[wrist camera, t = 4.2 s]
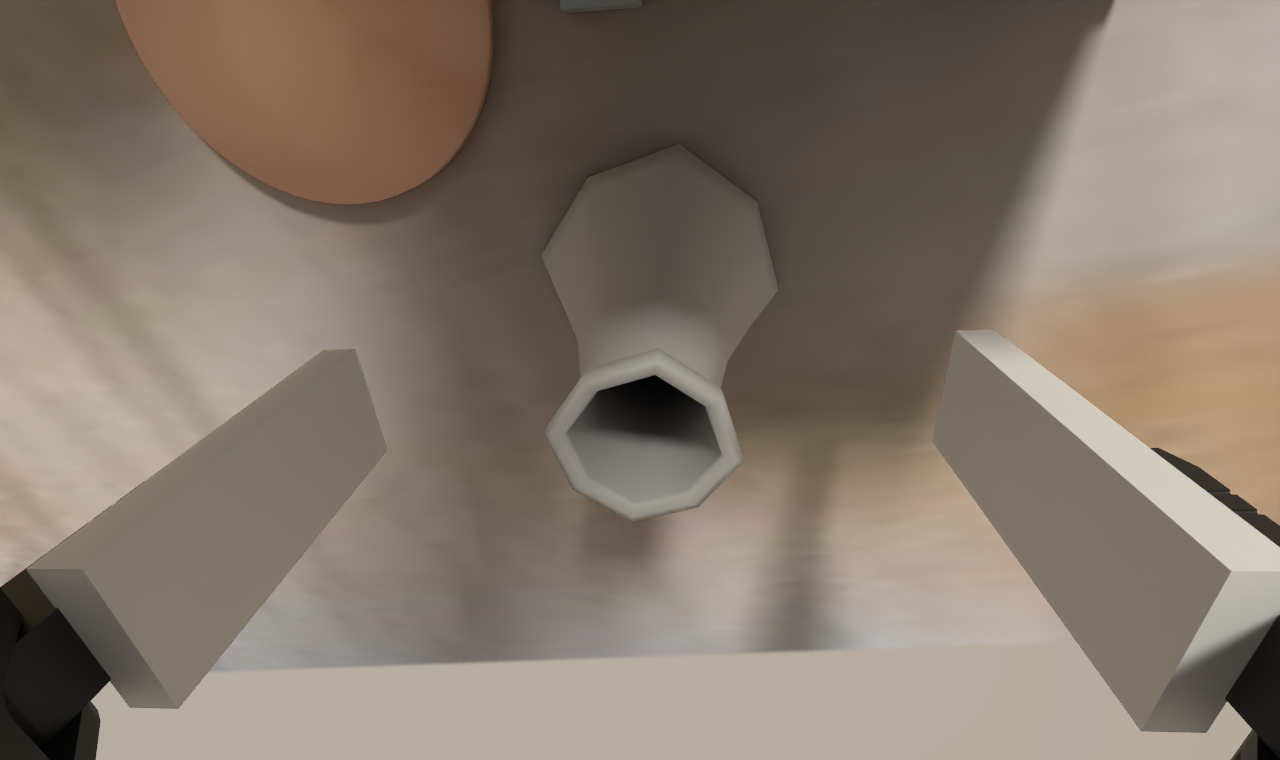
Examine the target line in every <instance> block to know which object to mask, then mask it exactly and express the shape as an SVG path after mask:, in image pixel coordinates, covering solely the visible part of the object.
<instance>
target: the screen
mask: <svg viewBox="0 0 1280 760" xmlns="http://www.w3.org/2000/svg"><path fill="white" fill-rule="evenodd" d="M559 1H560V9H561V10H563V11H564V12H566V13H576V12H588V11H601V10H613V9H626V8H639V7H642V0H559Z"/></svg>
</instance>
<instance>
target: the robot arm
mask: <svg viewBox="0 0 1280 760" xmlns="http://www.w3.org/2000/svg"><path fill="white" fill-rule="evenodd" d="M932 442H933V443H934V444H935V446H936V447H937V449H938V450H939V451H940V453H941V454H942V455H943V457H944V458H945V460H946V461H947V462H948V464H949V465H950V467H951V468H952V469H953V471H954V472H955V474H956V475H957V476H958V478H959V479H960V480H961V482H962V483H963V485H964V486H965V487H966V489H967V490H968V492H969V493H970V494H971V496H972V497H973V499H974V500H975V501H976V503H977V504H978V505H979V507H980V508H981V510H982V511H983V512H984V514H985V515H986V517H987V518H988V519H989V521H990V522H991V523H992V525H993V526H994V528H995V529H996V530H997V532H998V533H999V535H1000V536H1001V537H1002V539H1003V540H1004V542H1005V543H1006V544H1007V546H1008V547H1009V548H1010V550H1011V551H1012V553H1013V554H1014V555H1015V557H1016V558H1017V560H1018V561H1019V562H1020V564H1021V565H1022V567H1023V568H1024V569H1025V571H1026V572H1027V573H1028V575H1029V576H1030V578H1031V579H1032V580H1033V582H1034V583H1035V585H1036V586H1037V587H1038V589H1039V590H1040V592H1041V593H1042V594H1043V596H1044V597H1045V598H1046V600H1047V601H1048V603H1049V604H1050V605H1051V607H1052V608H1053V610H1054V611H1055V612H1056V614H1057V615H1058V617H1059V618H1060V619H1061V621H1062V622H1063V623H1064V625H1065V626H1066V628H1067V629H1068V630H1069V632H1070V633H1071V635H1072V636H1073V637H1074V639H1075V640H1076V641H1077V643H1078V644H1079V645H1080V647H1081V648H1082V650H1083V651H1084V653H1085V654H1086V655H1087V657H1088V658H1089V660H1090V661H1091V662H1092V664H1093V665H1094V666H1095V668H1096V669H1097V670H1098V672H1099V673H1100V675H1101V676H1102V678H1103V679H1104V680H1105V682H1106V683H1107V684H1108V686H1109V687H1110V689H1111V690H1112V691H1113V693H1114V694H1115V696H1116V697H1117V698H1118V700H1119V701H1120V703H1121V704H1122V705H1123V707H1124V708H1125V709H1126V711H1127V712H1128V714H1129V715H1130V716H1131V718H1132V719H1133V721H1134V722H1135V723H1136V725H1137V726H1138V728H1139V729H1140V730H1141V731H1153V732H1196V733H1197V732H1198V733H1206V732H1207V731H1208V729H1209V728H1210V726H1211V725H1212V723H1213V722H1214V720H1215V718H1216V717H1217V716H1218V714H1219V712H1220V711H1221V709H1222V708H1223V706H1224V705H1225V703H1226V702H1227V701H1228V702H1229V703H1230V705H1231V706H1232V707H1233V708H1234V709H1235V710H1236V711H1237V712H1238V713H1239V714H1240V715H1241V717H1242V718H1243V719H1244V720H1245V721H1246V722H1247V724H1248V725H1250V727H1251V728H1252V731H1251V732H1250V734H1249V735H1248V736H1247V738H1246V739H1245V741H1244V742H1243V743H1242V745H1241V746H1240V748H1239V749H1238V750H1237V752H1236V753H1235V755H1234V756H1233V758H1232V759H1231V760H1280V526H1279V525H1278V524H1276V523H1275V522H1274V521H1272V520H1271V519H1269V518H1268V517H1267V516H1265V515H1258V514H1257V509H1256V508H1254V507H1253V506H1252V505H1250V504H1249V503H1247V502H1246V501H1245V500H1243V499H1242V498H1241V497H1239V496H1238V495H1231V494H1230V490H1229V489H1228V488H1227V487H1225V486H1224V485H1223V484H1221V483H1220V482H1218V481H1217V480H1216V479H1214V478H1213V477H1212V476H1210V475H1209V474H1207V473H1206V472H1205V471H1203V470H1202V469H1201V468H1199V467H1197V466H1195V465H1193V464H1191V463H1189V462H1187V461H1185V460H1183V459H1180V458H1178V457H1176V456H1174V455H1172V454H1170V453H1168V452H1166V451H1164V450H1161V449H1159V448H1149V447H1148V446H1146V445H1145V444H1144V443H1142V442H1141V441H1140V440H1138V439H1137V438H1136V437H1134V436H1133V435H1132V434H1131V433H1129V432H1128V431H1127V430H1125V429H1124V428H1123V427H1121V426H1120V425H1119V424H1117V423H1116V422H1115V421H1113V420H1112V419H1111V418H1110V417H1108V416H1107V415H1106V414H1104V413H1103V412H1102V411H1100V410H1099V409H1098V408H1096V407H1095V406H1094V405H1092V404H1091V403H1090V402H1089V401H1087V400H1086V399H1085V398H1083V397H1082V396H1081V395H1079V394H1078V393H1077V392H1075V391H1074V390H1073V389H1071V388H1070V387H1069V386H1068V385H1066V384H1065V383H1064V382H1062V381H1061V380H1060V379H1058V378H1057V377H1056V376H1054V375H1053V374H1052V373H1050V372H1049V371H1048V370H1047V369H1045V368H1044V367H1043V366H1041V365H1040V364H1039V363H1037V362H1036V361H1035V360H1033V359H1032V358H1031V357H1029V356H1028V355H1027V354H1026V353H1024V352H1023V351H1022V350H1020V349H1019V348H1018V347H1016V346H1015V345H1014V344H1012V343H1011V342H1010V341H1008V340H1007V339H1006V338H1005V337H1003V336H1002V335H1001V334H999V333H998V332H997V331H995V330H994V329H990V330H958V331H955V335H954V340H953V345H952V350H951V355H950V359H949V364H948V369H947V374H946V378H945V383H944V388H943V393H942V398H941V402H940V407H939V412H938V417H937V422H936V426H935V431H934V436H933V441H932ZM386 451H387V448H386V445H385V442H384V439H383V436H382V432H381V429H380V426H379V423H378V420H377V417H376V413H375V410H374V407H373V404H372V401H371V398H370V394H369V391H368V388H367V385H366V382H365V379H364V375H363V372H362V369H361V366H360V363H359V360H358V356H357V353H356V350H355V349H352V350H323V351H322V352H320V353H319V354H318V355H316V356H315V357H314V358H312V359H311V360H310V361H308V362H307V363H305V364H304V365H303V366H301V367H300V368H299V369H297V370H296V371H295V372H293V373H292V374H291V375H289V376H288V377H286V378H285V379H284V380H282V381H281V382H280V383H278V384H277V385H276V386H274V387H273V388H271V389H270V390H269V391H267V392H266V393H265V394H263V395H262V396H261V397H259V398H258V399H257V400H255V401H254V402H252V403H251V404H250V405H248V406H247V407H246V408H244V409H243V410H242V411H240V412H239V413H237V414H236V415H235V416H233V417H232V418H231V419H229V420H228V421H227V422H225V423H224V424H223V425H221V426H220V427H218V428H217V429H216V430H214V431H213V432H212V433H210V434H209V435H208V436H206V437H205V438H203V439H202V440H201V441H199V442H198V443H197V444H195V445H194V446H193V447H191V448H190V449H188V450H187V451H186V452H184V453H183V454H182V455H180V456H179V457H178V458H176V459H175V460H174V461H172V462H171V463H169V464H168V465H167V466H165V467H164V468H163V469H161V470H160V471H159V472H157V473H156V474H154V475H153V476H152V477H150V478H149V479H148V480H146V481H144V482H143V483H142V484H140V485H139V486H138V487H136V488H135V489H133V490H132V491H131V492H129V493H128V494H127V495H125V496H124V497H123V498H121V499H120V500H118V501H117V502H116V503H115V504H114V505H112V506H110V507H109V508H108V509H106V510H105V511H103V512H102V513H101V514H99V515H98V516H97V517H95V518H94V519H93V520H92V521H91V522H89V523H87V524H86V525H84V526H83V527H82V528H80V529H79V530H78V531H76V532H75V533H74V534H72V535H71V536H69V537H68V538H67V539H65V540H64V541H63V542H61V543H60V544H59V545H57V546H56V547H54V548H53V549H52V550H50V551H49V552H48V553H46V554H45V555H44V556H42V557H41V558H39V559H38V560H37V561H35V562H34V563H33V564H31V565H30V566H29V567H27V568H26V569H25V570H23V571H22V572H20V573H19V574H18V575H16V576H15V577H14V578H12V579H11V580H10V581H8V582H7V583H5V584H4V585H3V586H1V587H0V760H95V759H96V751H97V744H98V735H99V728H100V718H99V713H98V710H97V709H96V707H95V706H94V705H93V704H92V702H91V700H92V698H94V697H95V696H96V694H97V693H98V692H99V691H100V690H101V689H102V688H103V687H104V686H105V685H106V684H107V683H108V682H109V681H110V682H111V683H112V684H113V686H114V687H115V688H116V690H117V691H118V692H119V694H120V695H121V696H122V698H123V699H124V700H125V702H126V703H127V704H128V706H129V707H131V708H173V709H178V708H179V707H180V706H181V705H182V704H183V702H184V701H185V700H186V699H187V697H188V696H189V695H190V693H191V692H192V691H193V690H194V689H195V687H196V686H197V685H198V684H199V682H200V681H201V680H202V679H203V677H204V676H205V675H206V674H207V673H208V671H209V670H210V669H211V668H212V666H213V665H214V664H215V663H216V661H217V660H218V659H219V658H220V656H221V655H222V654H223V653H224V652H225V650H226V649H227V648H228V647H229V645H230V644H231V643H232V642H233V640H234V639H235V638H236V637H237V635H238V634H239V633H240V632H241V630H242V629H243V628H244V627H245V626H246V624H247V623H248V622H249V621H250V619H251V618H252V617H253V616H254V614H255V613H256V612H257V611H258V609H259V608H260V607H261V606H262V604H263V603H264V602H265V601H266V600H267V598H268V597H269V596H270V595H271V593H272V592H273V591H274V590H275V588H276V587H277V586H278V585H279V583H280V582H281V581H282V580H283V578H284V577H285V576H286V575H287V573H288V572H289V571H290V570H291V569H292V567H293V566H294V565H295V564H296V562H297V561H298V560H299V559H300V557H301V556H302V555H303V554H304V552H305V551H306V550H307V549H308V547H309V546H310V545H311V544H312V543H313V541H314V540H315V539H316V538H317V536H318V535H319V534H320V533H321V531H322V530H323V529H324V528H325V526H326V525H327V524H328V523H329V521H330V520H331V519H332V518H333V517H334V515H335V514H336V513H337V512H338V510H339V509H340V508H341V507H342V505H343V504H344V503H345V502H346V500H347V499H348V498H349V497H350V495H351V494H352V493H353V492H354V491H355V489H356V488H357V487H358V486H359V484H360V483H361V482H362V481H363V479H364V478H365V477H366V476H367V474H368V473H369V472H370V471H371V469H372V468H373V467H374V466H375V465H376V463H377V462H378V461H379V460H380V458H381V457H382V456H383V455H384V453H385V452H386Z"/></svg>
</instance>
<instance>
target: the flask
mask: <svg viewBox="0 0 1280 760" xmlns="http://www.w3.org/2000/svg"><path fill="white" fill-rule="evenodd" d="M541 256H542V259H543V261H544V263H545V266H546V268H547V271H548V273H549V275H550V277H551V280H552V282H553V284H554V287H555V289H556V291H557V294H558V296H559V298H560V301H561V303H562V305H563V308H564V310H565V312H566V314H567V317H568V319H569V321H570V324H571V326H572V328H573V331H574V333H575V335H576V338H577V340H578V352H579V370H580V380H579V381H578V382H577V384H576V385H575V387H574V388H573V389H572V391H571V392H570V394H569V395H568V396H567V398H566V399H565V401H564V402H563V403H562V405H561V406H560V408H559V409H558V410H557V412H556V413H555V415H554V416H553V417H552V419H551V420H550V422H549V423H548V424H547V426H546V430H545V435H546V437H547V439H548V441H549V443H550V445H551V447H552V449H553V451H554V453H555V455H556V457H557V459H558V461H559V463H560V465H561V467H562V469H563V471H564V473H565V475H566V477H567V479H568V481H569V483H570V485H571V487H572V489H573V490H575V491H576V492H578V493H580V494H582V495H584V496H585V497H587V498H589V499H591V500H593V501H595V502H596V503H598V504H600V505H602V506H604V507H605V508H607V509H609V510H611V511H613V512H615V513H616V514H618V515H620V516H622V517H624V518H625V519H627V520H629V521H631V522H634V521H639V520H643V519H648V518H652V517H657V516H661V515H665V514H670V513H674V512H679V511H683V510H688V509H692V508H696V507H699V506H700V505H701V504H702V503H703V502H704V501H705V500H706V498H707V497H708V496H709V495H710V494H711V493H712V492H713V491H714V490H715V489H716V488H717V487H718V486H719V485H720V484H721V483H722V482H723V481H724V480H725V479H726V478H727V477H728V476H729V475H730V474H731V473H732V472H733V471H734V470H735V469H736V467H737V466H738V465H739V464H740V463H741V462H742V461H743V456H742V451H741V448H740V444H739V441H738V438H737V435H736V432H735V429H734V426H733V423H732V419H731V416H730V413H729V410H728V407H727V404H726V401H725V398H724V394H723V392H722V390H721V386H722V382H723V378H724V374H725V370H726V366H727V362H728V360H729V358H730V357H731V355H732V354H733V352H734V351H735V349H736V348H737V346H738V345H739V343H740V342H741V340H742V339H743V337H744V336H745V334H746V333H747V331H748V330H749V328H750V327H751V325H752V324H753V322H754V321H755V320H756V318H757V317H758V316H759V315H760V313H761V312H762V311H763V310H764V308H765V307H766V306H767V305H768V303H769V302H770V301H771V300H772V298H773V297H774V296H775V294H776V293H777V291H778V290H779V288H778V284H777V280H776V276H775V272H774V268H773V263H772V259H771V255H770V251H769V247H768V243H767V239H766V235H765V231H764V227H763V223H762V219H761V215H760V211H759V207H758V202H757V201H755V200H754V199H753V198H751V197H750V196H749V195H747V194H746V193H745V192H743V191H742V190H741V189H739V188H738V187H737V186H735V185H734V184H733V183H731V182H730V181H729V180H727V179H726V178H725V177H723V176H722V175H721V174H719V173H718V172H717V171H715V170H714V169H713V168H711V167H710V166H709V165H707V164H706V163H705V162H703V161H702V160H700V159H699V158H698V157H696V156H695V155H694V154H692V153H691V152H690V151H688V150H687V149H686V148H684V147H683V146H682V145H680V144H677V145H675V146H672V147H669V148H666V149H664V150H661V151H658V152H655V153H653V154H650V155H647V156H645V157H642V158H639V159H636V160H634V161H631V162H628V163H625V164H623V165H620V166H617V167H614V168H612V169H609V170H606V171H604V172H601V173H598V174H595V175H593V176H590V177H587V179H586V181H585V182H584V184H583V186H582V187H581V189H580V191H579V192H578V194H577V196H576V197H575V199H574V201H573V202H572V204H571V206H570V207H569V209H568V211H567V213H566V214H565V216H564V218H563V219H562V221H561V223H560V224H559V226H558V228H557V229H556V231H555V233H554V234H553V236H552V238H551V239H550V241H549V243H548V244H547V246H546V248H545V249H544V251H543V253H542V254H541Z"/></svg>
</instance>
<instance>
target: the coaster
mask: <svg viewBox="0 0 1280 760" xmlns="http://www.w3.org/2000/svg"><path fill="white" fill-rule="evenodd" d="M115 2H116V5H117V7H118V10H119V13H120V16H121V18H122V21H123V24H124V26H125V28H126V30H127V32H128V35H129V37H130V39H131V41H132V43H133V45H134V47H135V49H136V52H137V53H138V55H139V57H140V58H141V60H142V62H143V64H144V65H145V67H146V69H147V70H148V72H149V74H150V76H151V77H152V79H153V80H154V82H155V83H156V84H157V86H158V87H159V89H160V90H161V92H162V93H163V94H164V96H165V97H166V99H167V100H168V101H169V103H170V104H171V105H172V106H173V107H174V109H175V110H176V111H177V112H178V113H179V115H180V116H181V117H182V118H183V119H184V120H185V122H186V123H187V124H188V125H189V126H190V127H191V128H192V129H193V130H194V131H195V132H196V133H197V134H198V135H199V136H200V137H201V138H202V139H203V140H204V141H205V142H206V143H207V144H209V145H210V146H211V147H212V148H213V149H215V150H216V151H217V152H218V153H219V154H221V155H222V156H223V157H224V158H226V159H227V160H228V161H230V162H231V163H233V164H234V165H235V166H237V167H238V168H240V169H241V170H243V171H244V172H246V173H247V174H249V175H251V176H253V177H254V178H256V179H258V180H260V181H262V182H264V183H265V184H267V185H269V186H271V187H274V188H276V189H279V190H281V191H284V192H286V193H289V194H291V195H294V196H298V197H301V198H305V199H308V200H312V201H318V202H324V203H331V204H362V203H370V202H377V201H380V200H384V199H387V198H391V197H394V196H397V195H399V194H402V193H404V192H406V191H408V190H410V189H412V188H415V187H417V186H419V185H421V184H423V183H424V182H425V181H427V180H428V179H430V178H431V177H433V176H434V175H436V174H437V173H438V172H439V171H440V170H442V169H443V168H444V167H445V166H446V165H447V164H448V163H449V162H450V161H451V160H452V159H453V158H454V157H455V155H456V154H457V153H458V151H459V150H460V149H461V148H462V146H463V145H464V144H465V142H466V140H467V139H468V137H469V135H470V133H471V132H472V130H473V128H474V126H475V125H476V122H477V120H478V117H479V115H480V112H481V109H482V107H483V104H484V101H485V97H486V93H487V89H488V85H489V82H490V76H491V68H492V60H493V33H494V25H493V15H492V5H491V0H115Z"/></svg>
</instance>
